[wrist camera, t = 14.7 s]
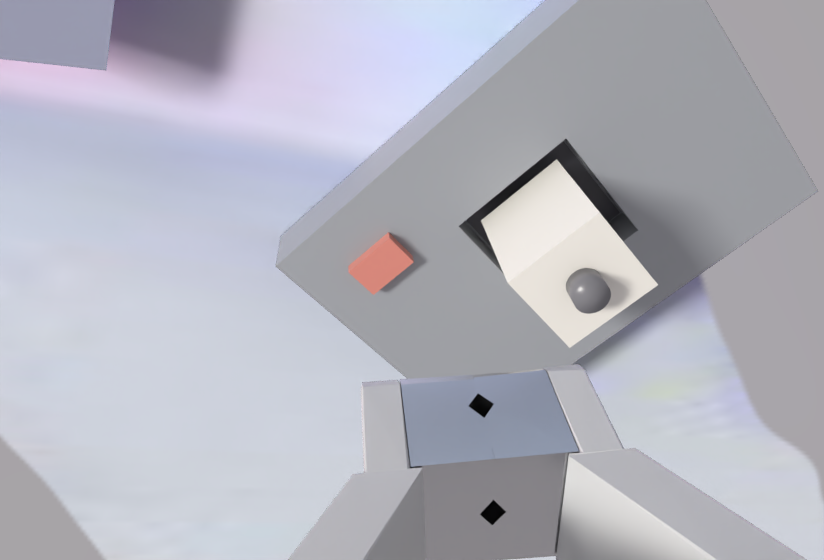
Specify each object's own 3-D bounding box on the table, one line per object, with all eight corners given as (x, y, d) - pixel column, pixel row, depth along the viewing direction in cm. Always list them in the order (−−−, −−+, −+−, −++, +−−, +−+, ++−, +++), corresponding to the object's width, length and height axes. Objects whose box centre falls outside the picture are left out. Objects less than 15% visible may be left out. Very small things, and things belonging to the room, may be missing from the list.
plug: (549, 149, 30) (609, 224, 23) (599, 212, 32) (668, 298, 25) (476, 209, 31) (513, 296, 25) (529, 266, 33) (577, 362, 26)
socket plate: (631, -77, 27) (669, -73, 24) (780, 167, 33) (826, 196, 30) (280, 236, 32) (274, 273, 29) (463, 397, 38) (474, 442, 35)
